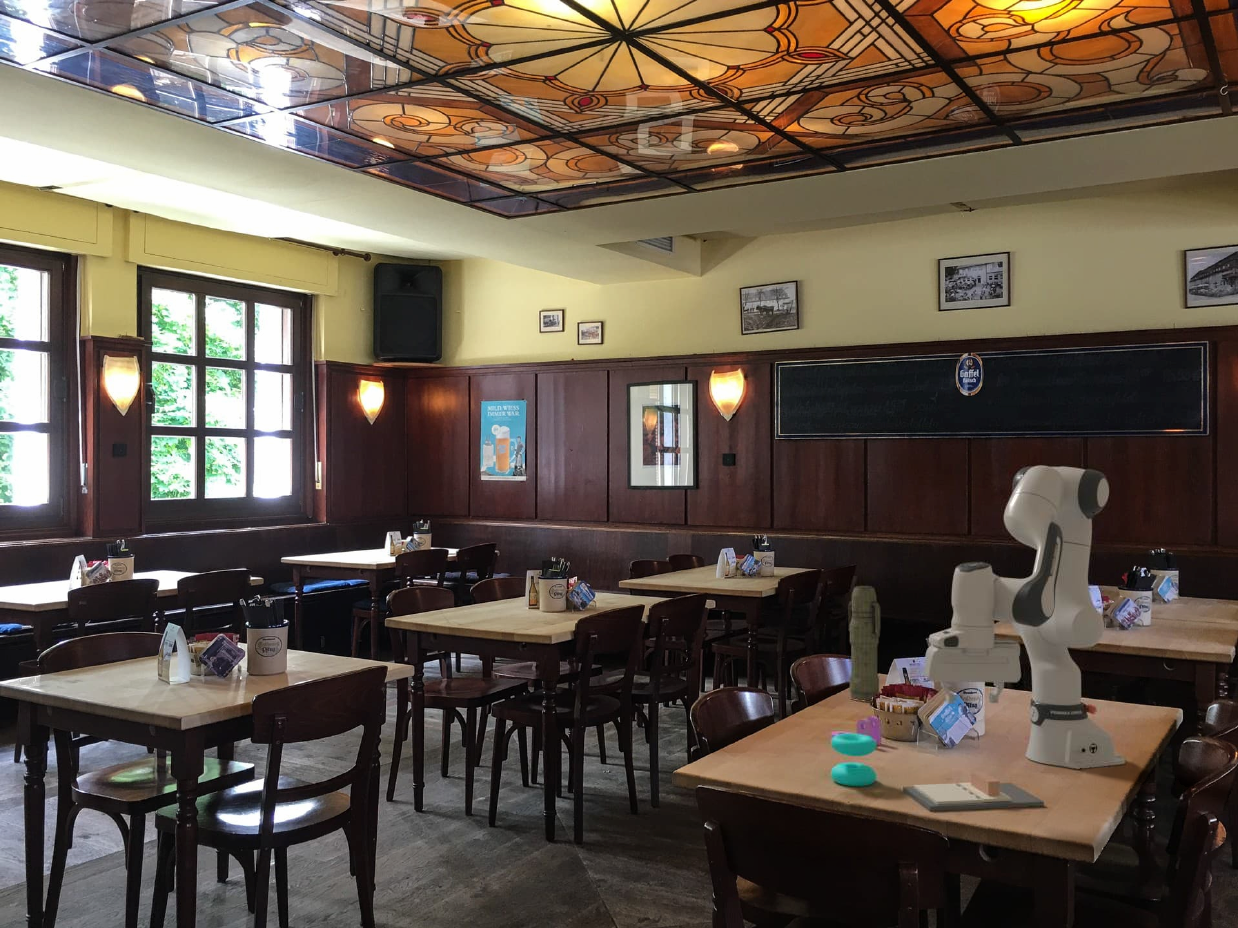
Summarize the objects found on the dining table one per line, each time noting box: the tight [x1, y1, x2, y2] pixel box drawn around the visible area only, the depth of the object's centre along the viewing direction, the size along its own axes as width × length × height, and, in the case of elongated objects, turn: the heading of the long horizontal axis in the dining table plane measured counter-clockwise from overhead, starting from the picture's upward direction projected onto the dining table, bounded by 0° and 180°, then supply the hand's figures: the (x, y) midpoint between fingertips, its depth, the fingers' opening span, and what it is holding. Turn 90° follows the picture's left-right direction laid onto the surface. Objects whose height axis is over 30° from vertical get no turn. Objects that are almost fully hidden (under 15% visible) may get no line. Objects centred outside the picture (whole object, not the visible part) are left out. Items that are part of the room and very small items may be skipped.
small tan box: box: [957, 770, 1011, 802], centre depth 228 cm, size 6×12×4 cm, turn 7°
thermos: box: [847, 585, 881, 701], centre depth 332 cm, size 9×12×35 cm
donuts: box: [830, 732, 877, 787], centre depth 241 cm, size 10×10×10 cm
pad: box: [902, 782, 1045, 812], centre depth 228 cm, size 25×14×2 cm, turn 98°
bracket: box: [830, 715, 882, 746], centre depth 278 cm, size 13×6×7 cm, turn 44°
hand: (972, 702), depth 230 cm, fingers open, 8 cm apart
